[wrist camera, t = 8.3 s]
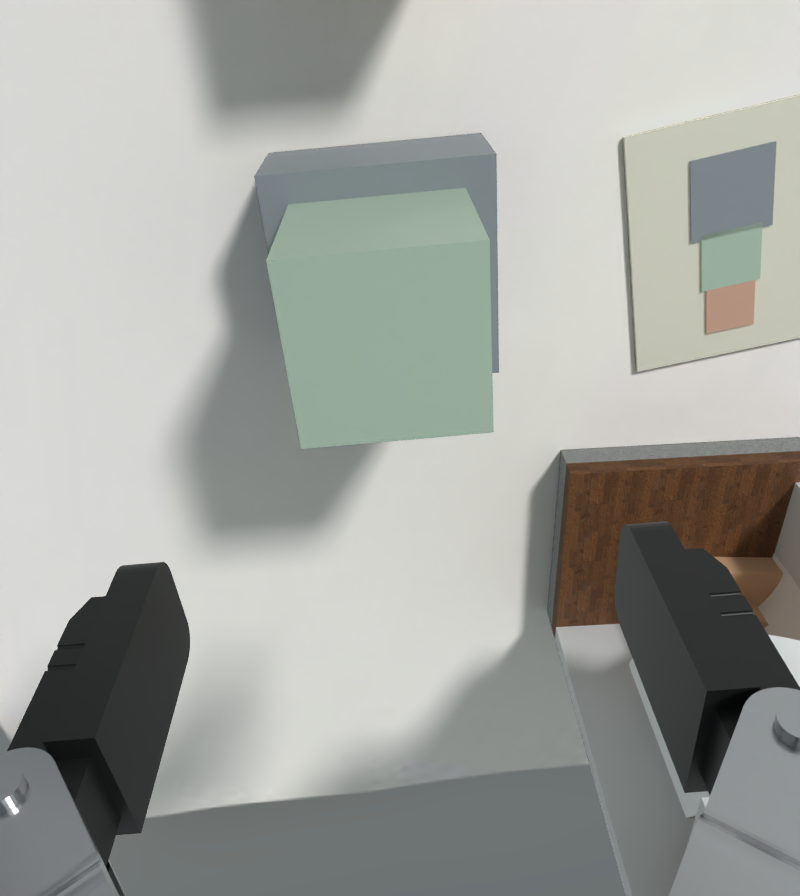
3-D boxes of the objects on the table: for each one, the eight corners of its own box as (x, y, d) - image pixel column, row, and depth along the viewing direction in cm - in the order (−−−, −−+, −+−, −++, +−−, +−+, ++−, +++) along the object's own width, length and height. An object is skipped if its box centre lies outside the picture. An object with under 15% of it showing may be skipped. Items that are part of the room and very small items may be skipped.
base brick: (268, 152, 28) (254, 176, 24) (480, 133, 27) (496, 153, 24) (301, 347, 32) (292, 390, 28) (485, 331, 32) (498, 372, 28)
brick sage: (288, 204, 25) (266, 260, 20) (465, 187, 25) (489, 239, 20) (314, 364, 28) (301, 448, 23) (471, 350, 28) (493, 432, 23)
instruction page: (622, 137, 28) (625, 138, 27) (841, 84, 27) (845, 85, 27) (636, 369, 33) (638, 373, 33) (819, 331, 32) (823, 333, 32)
